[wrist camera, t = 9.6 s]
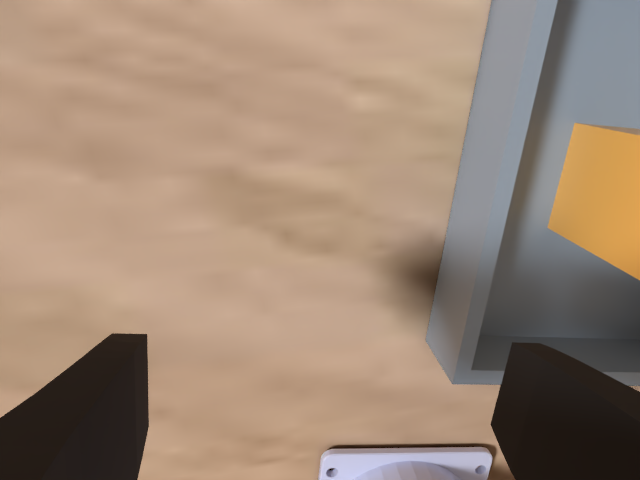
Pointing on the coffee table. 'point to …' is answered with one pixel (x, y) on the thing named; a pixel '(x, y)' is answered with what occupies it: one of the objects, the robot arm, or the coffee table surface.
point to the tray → (537, 195)
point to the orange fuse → (601, 194)
